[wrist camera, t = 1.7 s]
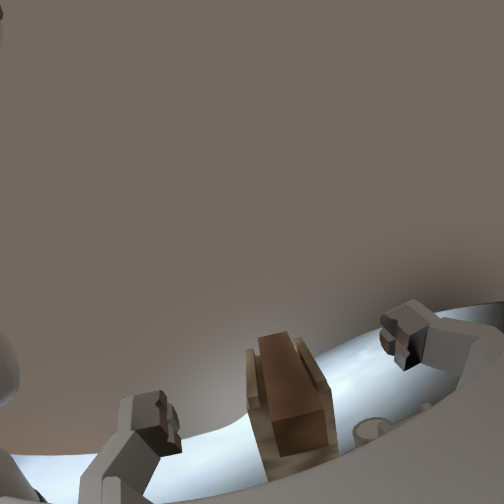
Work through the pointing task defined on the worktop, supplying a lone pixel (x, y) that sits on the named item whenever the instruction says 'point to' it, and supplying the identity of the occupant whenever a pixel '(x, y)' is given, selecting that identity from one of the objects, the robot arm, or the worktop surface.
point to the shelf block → (263, 425)
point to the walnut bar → (291, 398)
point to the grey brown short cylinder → (367, 431)
